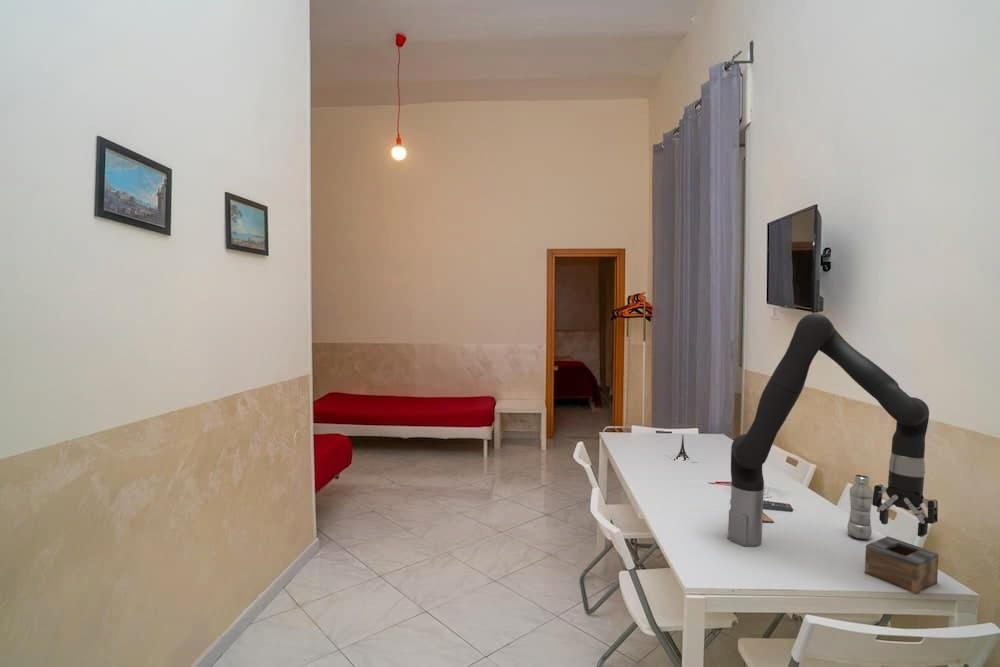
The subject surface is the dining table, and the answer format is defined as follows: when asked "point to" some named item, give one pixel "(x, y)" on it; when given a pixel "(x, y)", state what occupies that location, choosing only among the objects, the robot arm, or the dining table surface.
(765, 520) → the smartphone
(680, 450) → the eiffel tower figurine
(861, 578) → the dining table surface
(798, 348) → the robot arm
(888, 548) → the box
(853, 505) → the plastic bottle
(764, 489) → the teacup and saucer
